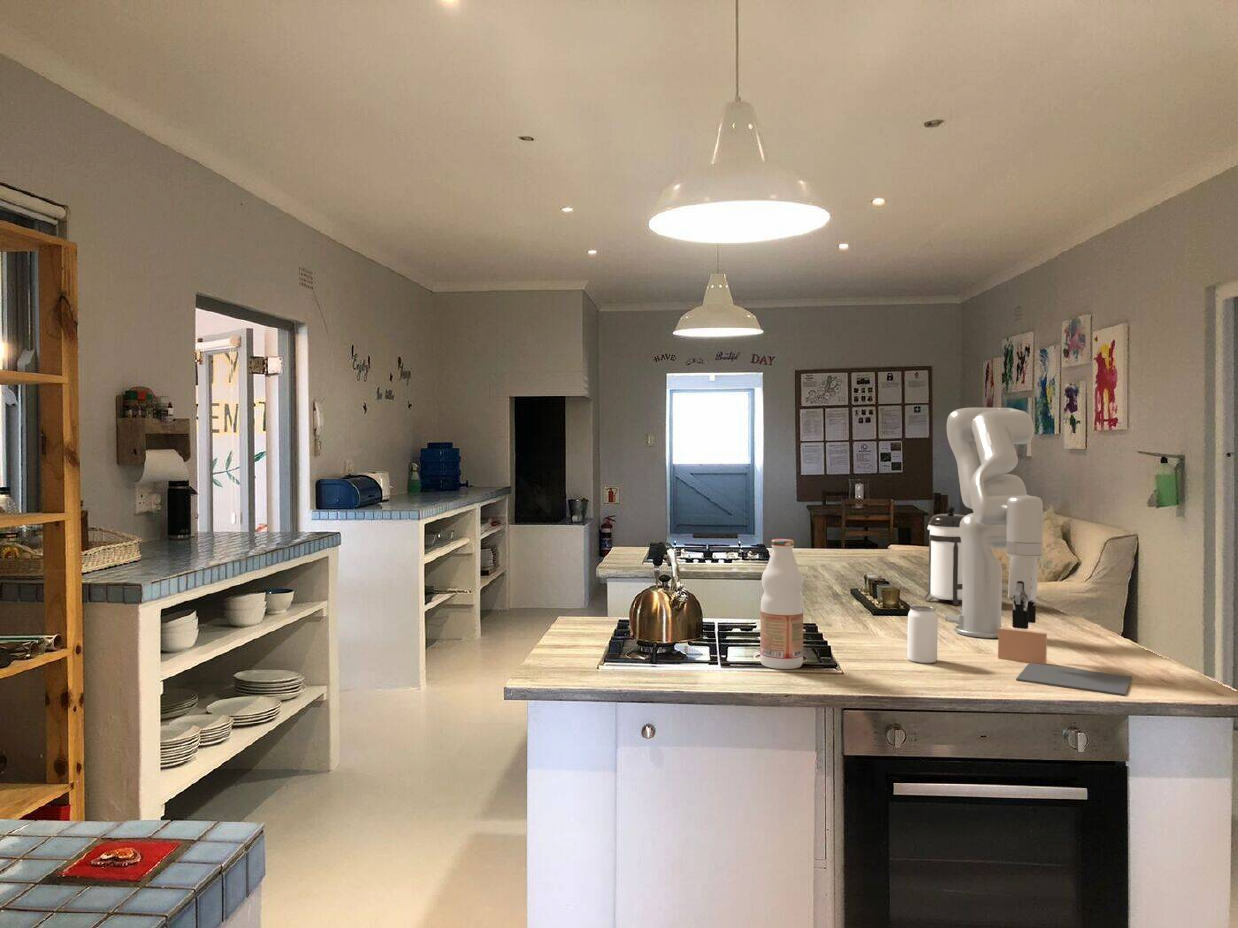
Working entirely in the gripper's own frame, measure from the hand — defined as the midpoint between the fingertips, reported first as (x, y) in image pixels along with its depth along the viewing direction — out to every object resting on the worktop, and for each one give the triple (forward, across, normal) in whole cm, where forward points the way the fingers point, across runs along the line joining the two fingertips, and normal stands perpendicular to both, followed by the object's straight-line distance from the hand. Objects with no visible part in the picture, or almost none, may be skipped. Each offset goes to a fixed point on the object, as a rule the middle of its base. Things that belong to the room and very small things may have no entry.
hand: (1024, 625), depth 203 cm
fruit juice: (+9, +34, -45) cm, 57 cm away
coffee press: (+6, -69, -32) cm, 76 cm away
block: (+8, -1, -1) cm, 8 cm away
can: (+9, +12, -20) cm, 25 cm away
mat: (+9, +10, +11) cm, 18 cm away
